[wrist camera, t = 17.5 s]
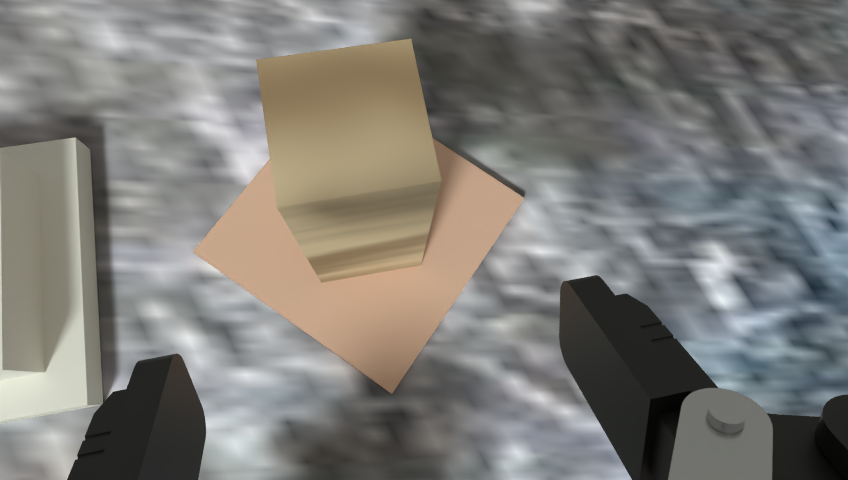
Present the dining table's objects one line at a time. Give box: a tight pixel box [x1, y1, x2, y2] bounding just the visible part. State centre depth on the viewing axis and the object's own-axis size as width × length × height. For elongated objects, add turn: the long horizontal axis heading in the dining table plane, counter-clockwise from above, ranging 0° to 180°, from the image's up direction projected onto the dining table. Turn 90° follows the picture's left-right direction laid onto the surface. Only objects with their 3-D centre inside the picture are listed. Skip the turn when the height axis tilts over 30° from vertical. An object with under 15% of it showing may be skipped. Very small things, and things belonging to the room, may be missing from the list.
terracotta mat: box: [193, 138, 524, 394], centre depth 30 cm, size 12×12×1 cm
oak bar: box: [256, 39, 441, 283], centre depth 24 cm, size 5×5×12 cm
